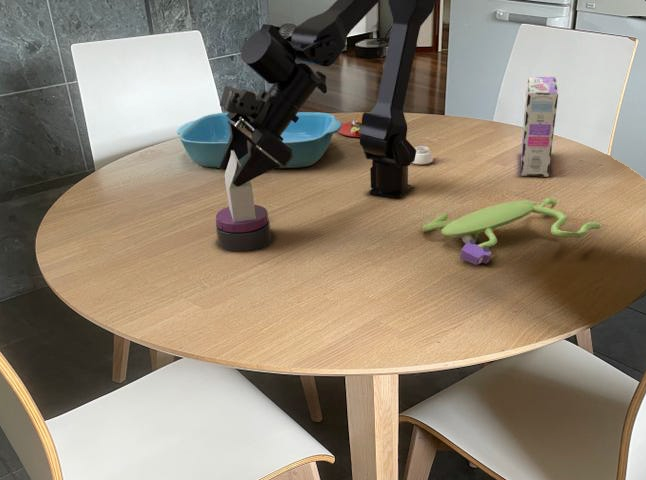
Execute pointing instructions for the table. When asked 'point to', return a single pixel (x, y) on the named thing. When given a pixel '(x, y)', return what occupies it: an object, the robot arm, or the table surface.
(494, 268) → the table surface
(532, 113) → the candy box
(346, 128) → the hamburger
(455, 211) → the table surface
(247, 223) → the jar lid
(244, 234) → the jar
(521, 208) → the figurine
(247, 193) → the paper tea packet
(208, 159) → the casserole dish
